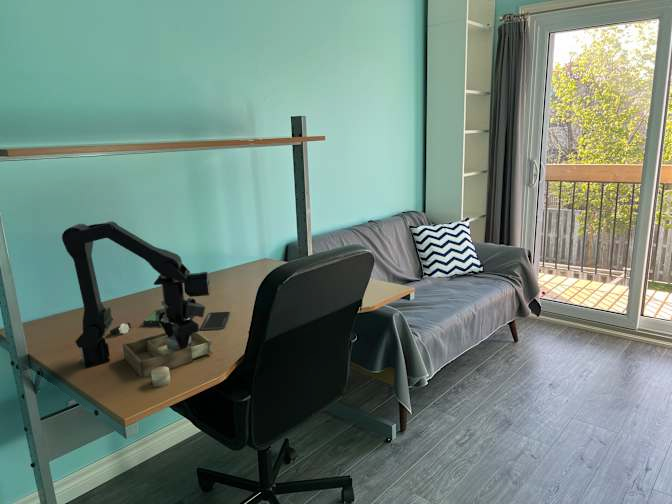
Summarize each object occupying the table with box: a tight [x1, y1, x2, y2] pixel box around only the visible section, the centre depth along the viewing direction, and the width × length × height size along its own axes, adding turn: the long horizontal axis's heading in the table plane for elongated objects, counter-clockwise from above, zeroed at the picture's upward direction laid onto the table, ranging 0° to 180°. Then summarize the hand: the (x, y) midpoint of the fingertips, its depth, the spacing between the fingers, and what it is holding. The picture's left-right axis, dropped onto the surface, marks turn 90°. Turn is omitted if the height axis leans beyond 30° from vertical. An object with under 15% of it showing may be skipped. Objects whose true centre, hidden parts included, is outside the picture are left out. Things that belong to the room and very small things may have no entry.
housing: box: [122, 332, 194, 379], centre depth 143 cm, size 14×16×4 cm
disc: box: [166, 336, 192, 350], centre depth 146 cm, size 7×7×2 cm
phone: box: [200, 311, 231, 331], centre depth 172 cm, size 8×1×15 cm
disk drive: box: [142, 309, 196, 327], centre depth 174 cm, size 10×3×15 cm
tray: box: [147, 331, 213, 359], centre depth 147 cm, size 15×15×4 cm
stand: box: [151, 366, 171, 388], centre depth 130 cm, size 4×4×4 cm
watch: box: [109, 322, 132, 337], centre depth 165 cm, size 8×5×4 cm, turn 158°
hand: (179, 348), depth 147 cm, fingers closed on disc, 7 cm apart
